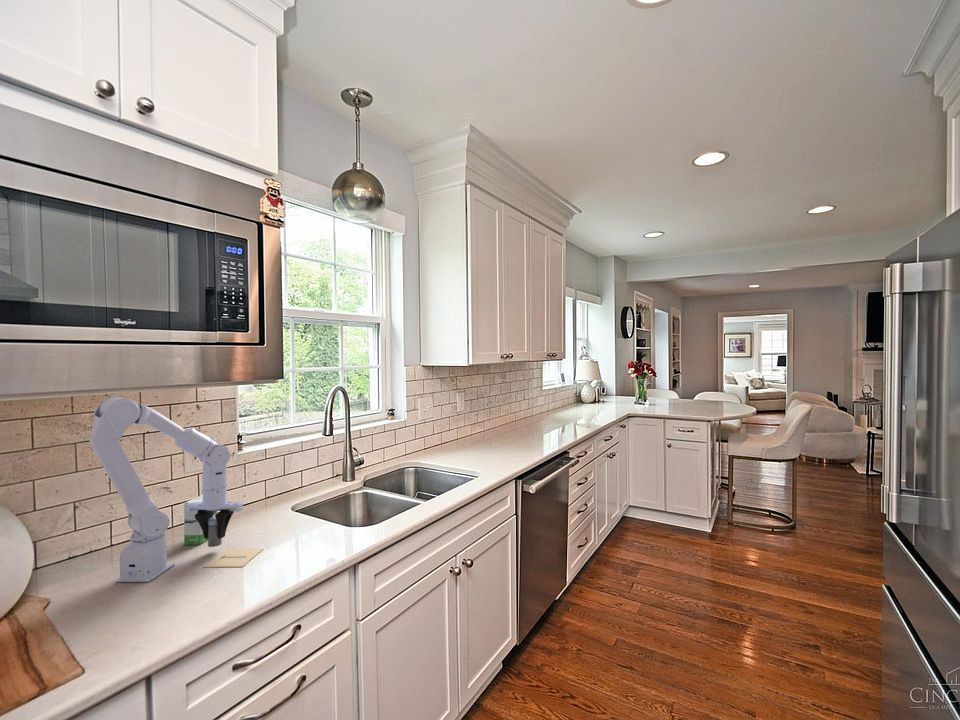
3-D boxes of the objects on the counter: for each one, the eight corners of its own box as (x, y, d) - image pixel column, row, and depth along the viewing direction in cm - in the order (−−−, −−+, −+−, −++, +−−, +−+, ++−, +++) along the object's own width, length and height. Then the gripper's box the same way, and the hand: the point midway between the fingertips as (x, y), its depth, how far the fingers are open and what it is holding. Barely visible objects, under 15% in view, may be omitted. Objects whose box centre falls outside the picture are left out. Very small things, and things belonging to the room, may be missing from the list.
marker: (217, 546, 125) (217, 520, 125) (205, 546, 125) (205, 520, 125) (224, 542, 128) (224, 516, 128) (212, 542, 128) (212, 516, 128)
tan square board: (242, 567, 117) (242, 566, 117) (203, 567, 117) (203, 566, 117) (263, 549, 128) (263, 548, 128) (227, 549, 128) (227, 548, 128)
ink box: (200, 545, 131) (199, 503, 131) (183, 545, 131) (182, 503, 131) (218, 533, 140) (217, 494, 140) (202, 533, 140) (201, 494, 140)
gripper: (248, 483, 130) (248, 532, 130) (197, 483, 131) (197, 531, 131) (235, 490, 123) (235, 541, 123) (181, 490, 124) (181, 541, 124)
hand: (214, 537), depth 127 cm, fingers closed on marker, 3 cm apart
